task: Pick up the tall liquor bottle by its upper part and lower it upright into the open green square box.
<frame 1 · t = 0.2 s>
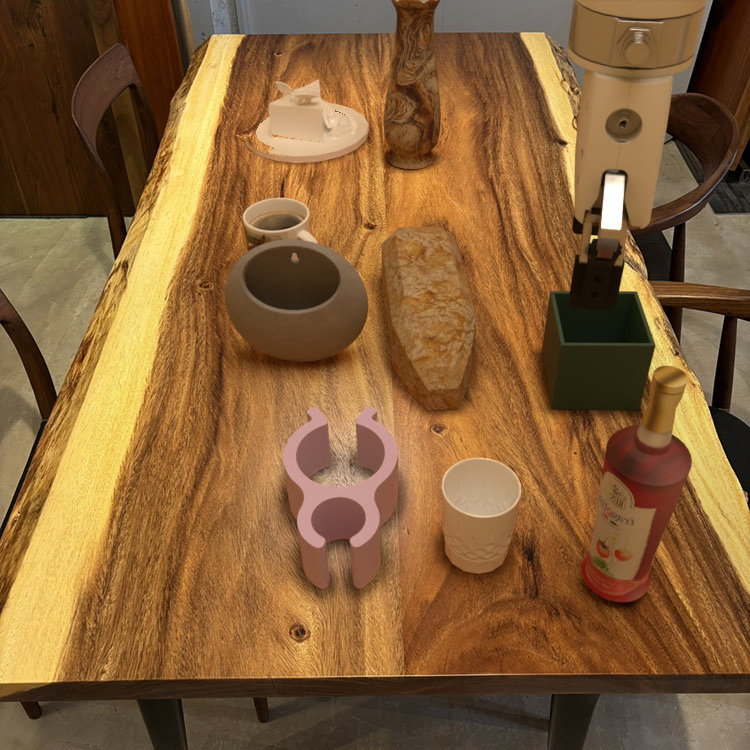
hand: (591, 268, 62), 38 cm above the table, tool pointing down, fingers open, 9 cm apart
planter: (302, 360, 114), on the table
white cup: (475, 549, 90), on the table
liquor: (613, 581, 86), on the table
vase: (412, 159, 158), on the table
mug: (286, 281, 129), on the table
dish: (306, 134, 167), on the table
green square box: (588, 381, 110), on the table
clip: (343, 514, 94), on the table
bread: (425, 324, 120), on the table
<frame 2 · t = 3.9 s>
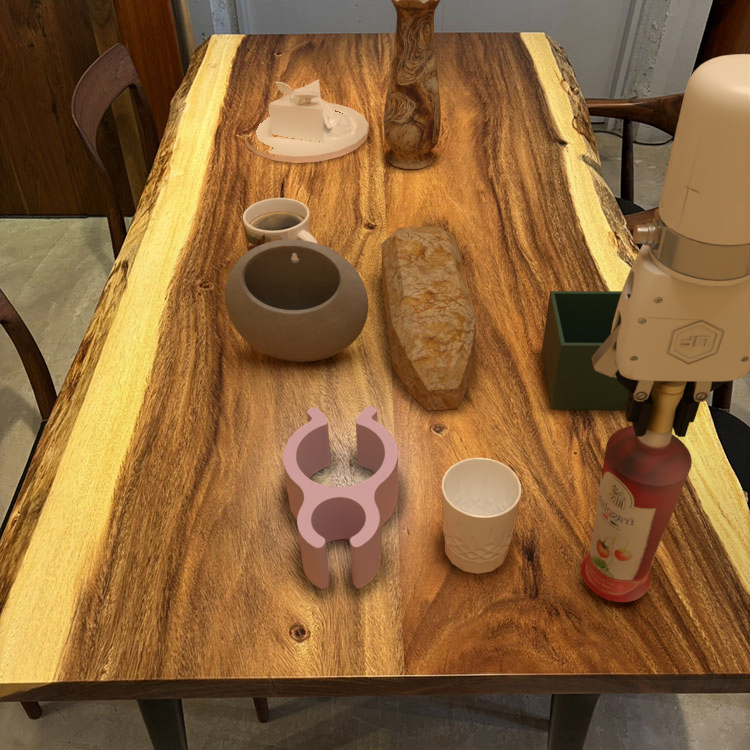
hand: (656, 423, 71), 23 cm above the table, tool pointing down, fingers closed on liquor, 2 cm apart
liquor: (613, 581, 86), on the table, touching gripper
everything else where it was.
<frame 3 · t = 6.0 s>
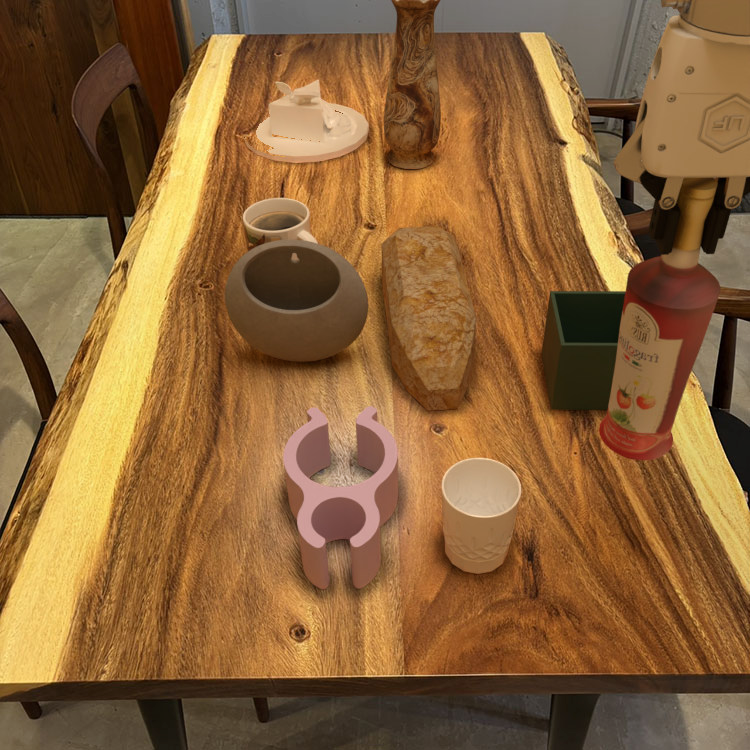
hand: (683, 243, 66), 37 cm above the table, tool pointing down, fingers closed on liquor, 2 cm apart
liquor: (633, 444, 81), point 14 cm above the table, touching gripper
everything else where it was.
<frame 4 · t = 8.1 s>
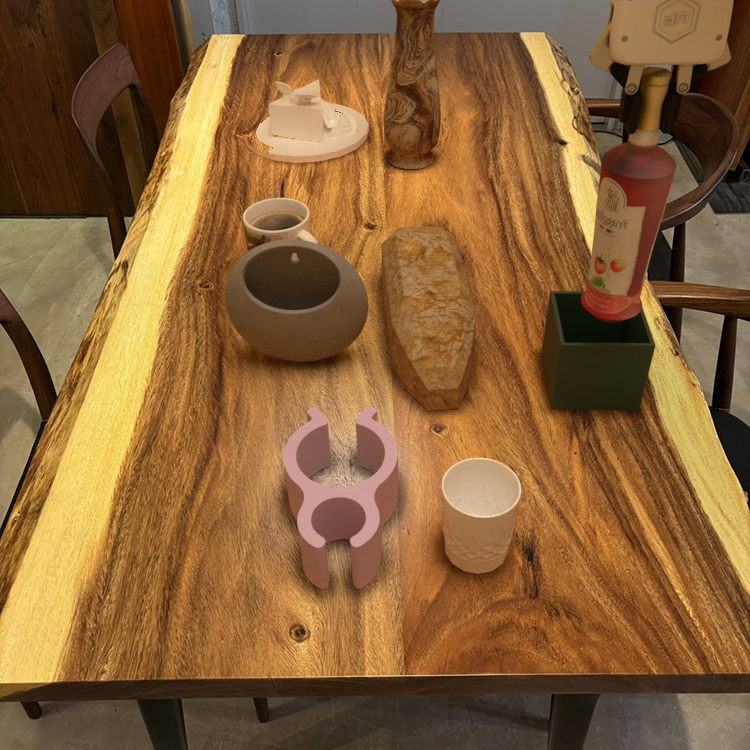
hand: (645, 126, 83), 37 cm above the table, tool pointing down, fingers closed on liquor, 2 cm apart
liquor: (609, 312, 97), point 14 cm above the table, touching gripper
everything else where it was.
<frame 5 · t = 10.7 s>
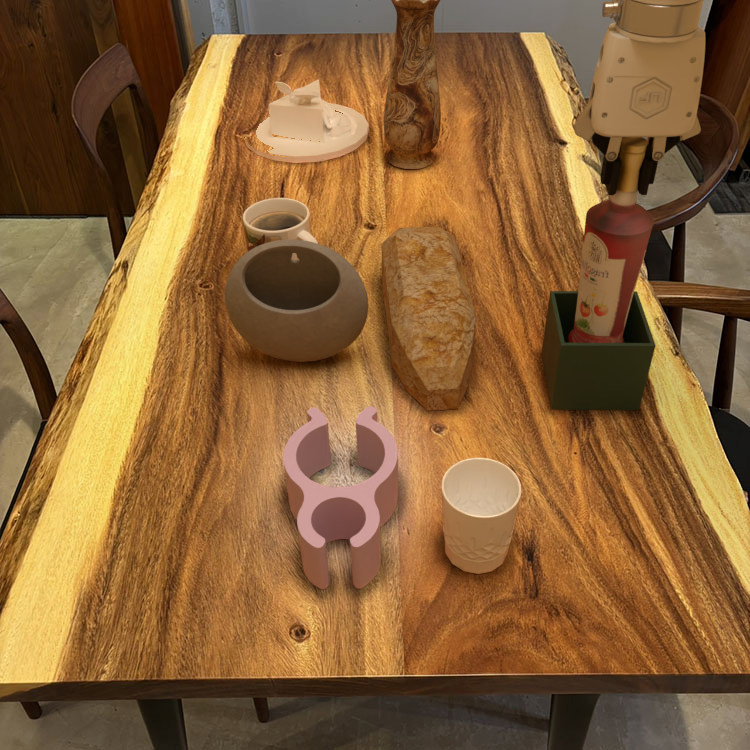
hand: (625, 187, 91), 28 cm above the table, tool pointing down, fingers closed on liquor, 2 cm apart
liquor: (594, 349, 106), point 5 cm above the table, touching gripper
everything else where it was.
when the fingers open (23 cm above the table, at t = 12.3 s): liquor stays where it is, resting on green square box.
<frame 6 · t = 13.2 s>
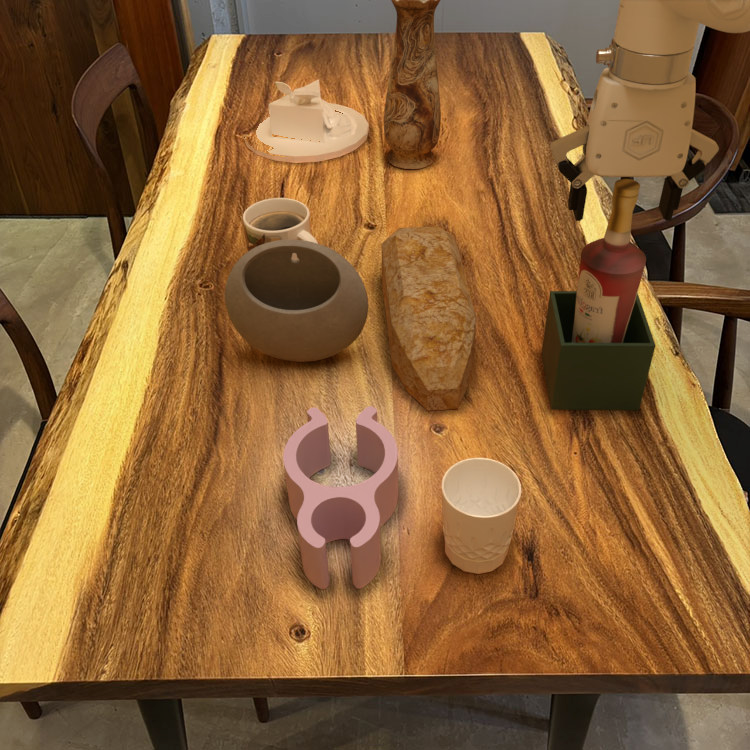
hand: (620, 214, 93), 25 cm above the table, tool pointing down, fingers open, 9 cm apart
liquor: (589, 379, 109), resting on green square box
everything else where it was.
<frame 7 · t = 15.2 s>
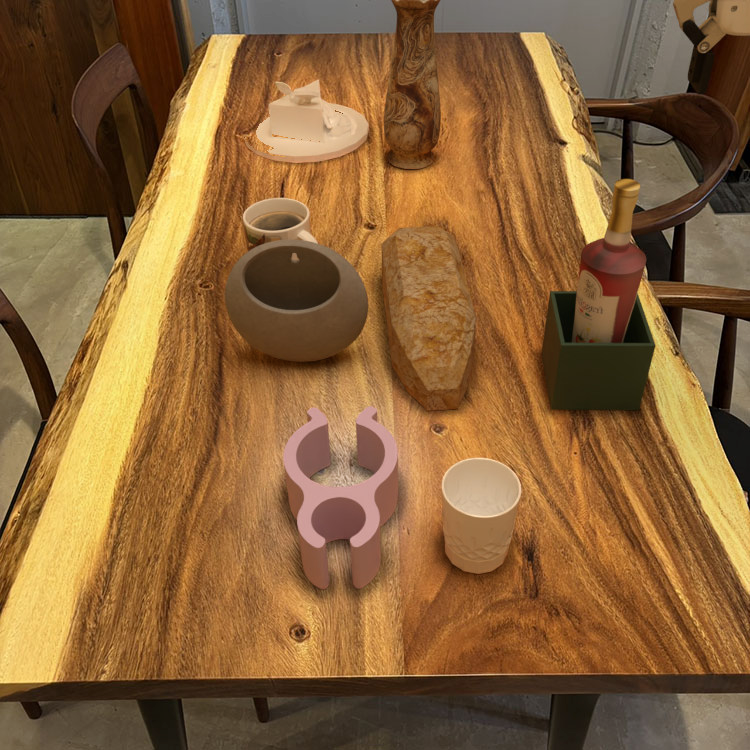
hand: (747, 88, 82), 40 cm above the table, tool pointing down, fingers open, 9 cm apart
nothing on the table moved.
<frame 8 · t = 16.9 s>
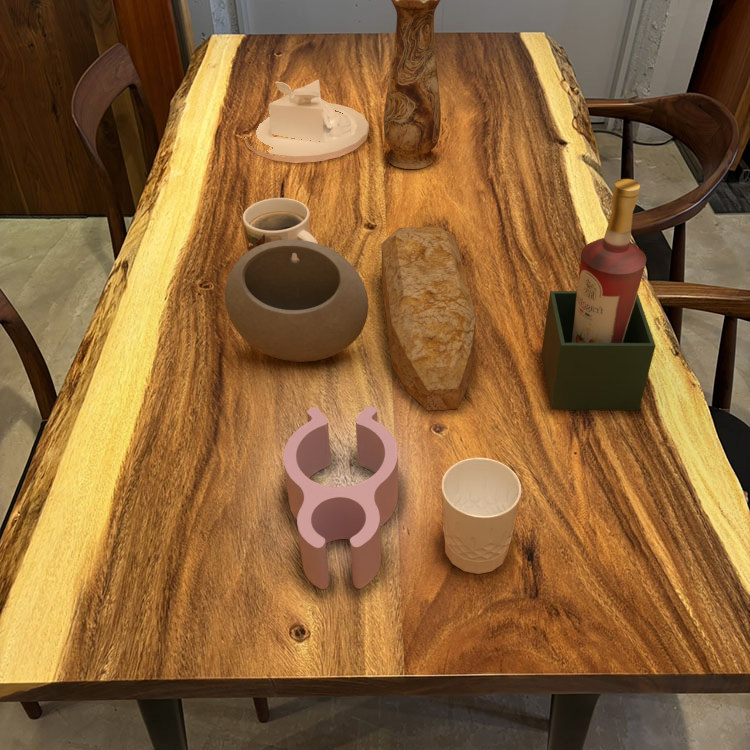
nothing on the table moved.
at the end: liquor inside the target area in the green square box (0.1 cm from its centre), point 0.3 cm above the green square box's base; liquor tilted 0°; the gripper is holding nothing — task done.
